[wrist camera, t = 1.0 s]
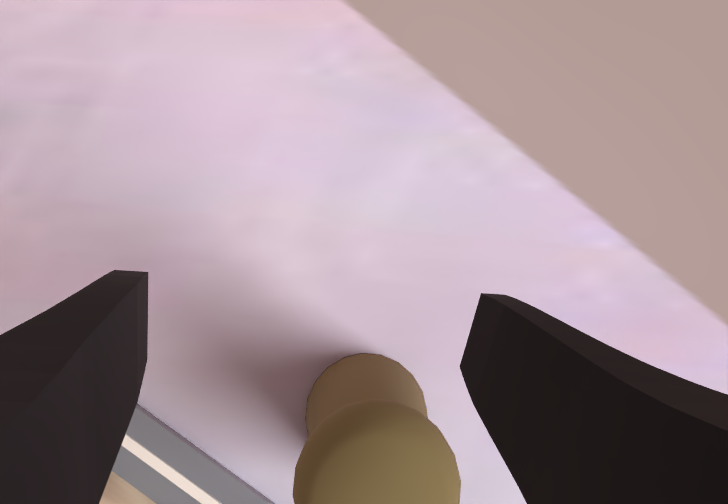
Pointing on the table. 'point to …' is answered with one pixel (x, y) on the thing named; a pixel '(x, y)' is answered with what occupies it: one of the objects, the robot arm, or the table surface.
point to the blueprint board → (176, 467)
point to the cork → (372, 440)
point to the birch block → (122, 492)
